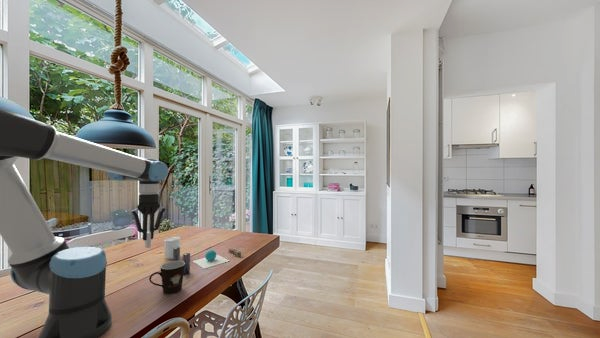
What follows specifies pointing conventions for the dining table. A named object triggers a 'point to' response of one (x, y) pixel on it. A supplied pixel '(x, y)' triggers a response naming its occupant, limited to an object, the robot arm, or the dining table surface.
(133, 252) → the dining table surface
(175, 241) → the white cup
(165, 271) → the coffee mug
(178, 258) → the far post
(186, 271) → the near post
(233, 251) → the stopper wall
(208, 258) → the ball
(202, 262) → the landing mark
